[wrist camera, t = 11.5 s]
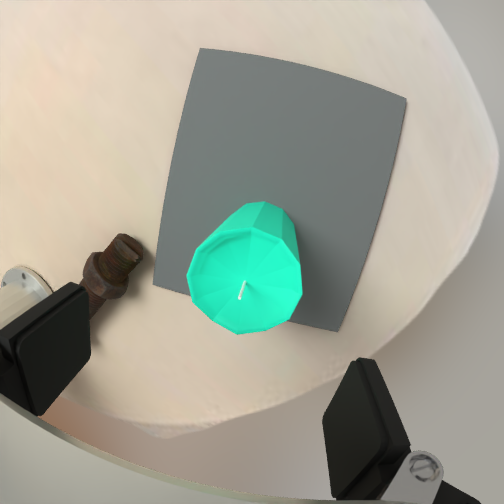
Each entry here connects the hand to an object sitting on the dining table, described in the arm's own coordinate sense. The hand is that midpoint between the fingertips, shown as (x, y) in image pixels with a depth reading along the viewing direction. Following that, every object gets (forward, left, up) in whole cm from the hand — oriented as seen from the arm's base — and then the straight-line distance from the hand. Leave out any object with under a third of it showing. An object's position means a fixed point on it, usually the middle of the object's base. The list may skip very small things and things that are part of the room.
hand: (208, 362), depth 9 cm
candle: (0, 0, -17) cm, 17 cm away
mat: (+4, -1, -17) cm, 18 cm away
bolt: (-9, +15, -18) cm, 25 cm away
